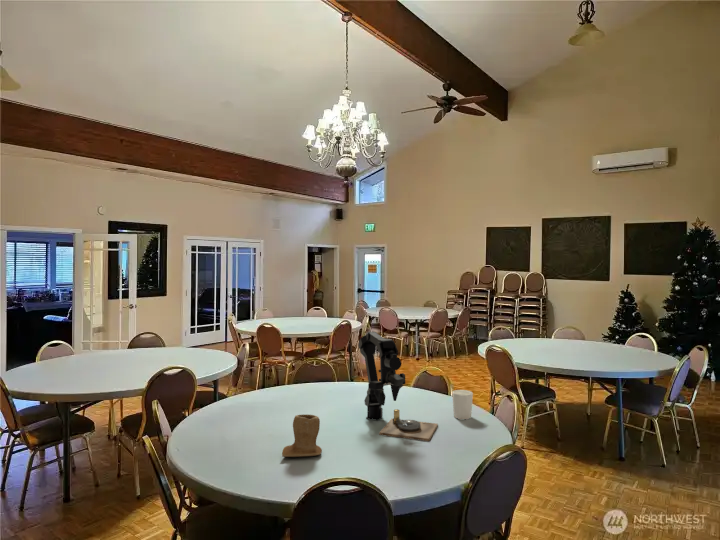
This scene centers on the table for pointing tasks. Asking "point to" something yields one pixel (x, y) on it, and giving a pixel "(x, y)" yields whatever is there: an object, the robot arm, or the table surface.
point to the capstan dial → (405, 423)
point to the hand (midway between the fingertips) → (387, 402)
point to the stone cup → (304, 437)
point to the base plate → (422, 434)
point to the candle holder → (462, 404)
